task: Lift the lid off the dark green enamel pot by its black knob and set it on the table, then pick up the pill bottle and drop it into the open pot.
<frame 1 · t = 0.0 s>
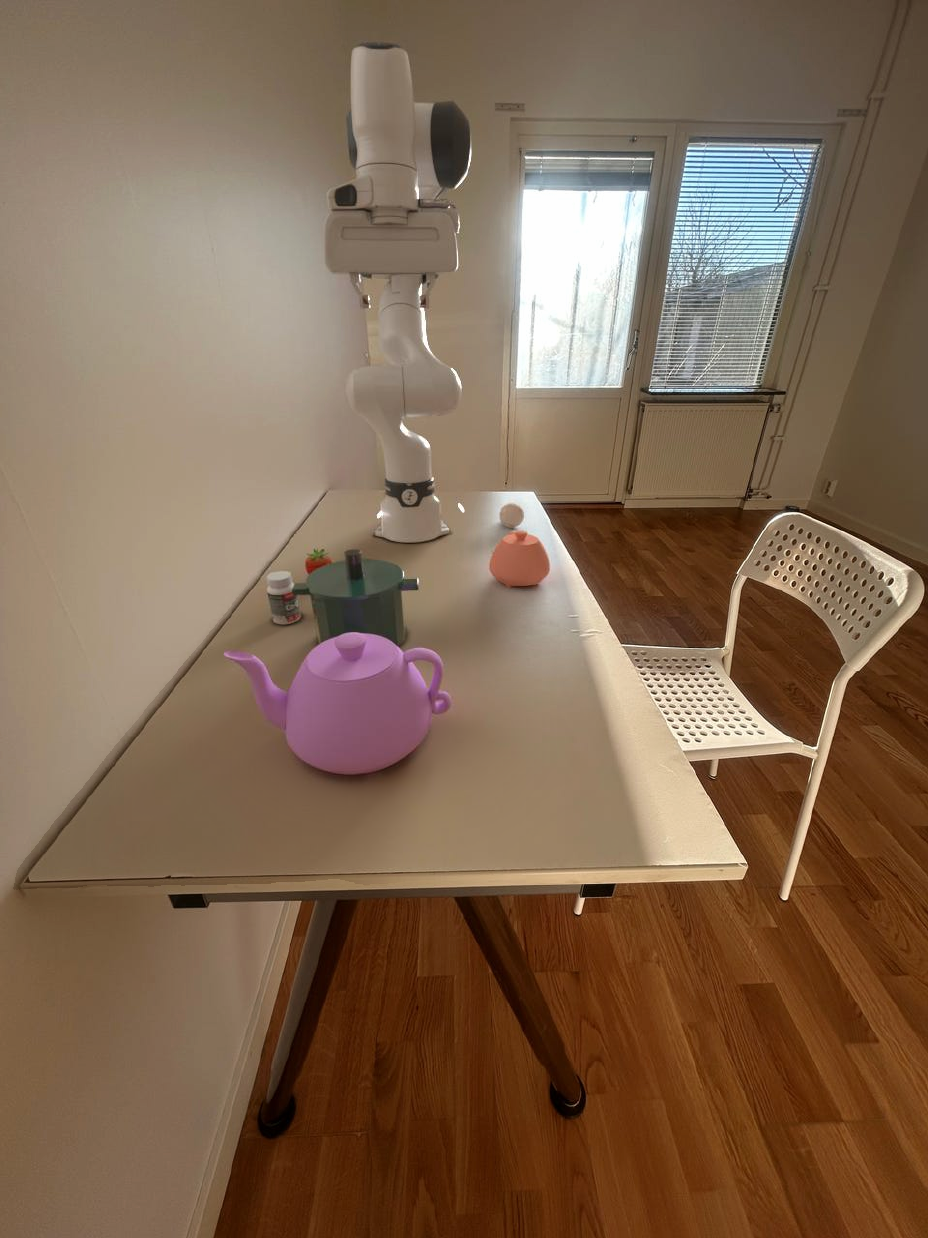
hand: (395, 308, 82), 48 cm above the table, tool pointing down, fingers open, 8 cm apart
teapot: (353, 734, 64), on the table
pot: (362, 637, 85), on the table
pill bottle: (287, 619, 91), on the table
sugar bowl: (517, 578, 107), on the table
lid: (355, 579, 80), point 10 cm above the table, touching pot
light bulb: (509, 525, 138), on the table
fruit: (322, 586, 104), on the table
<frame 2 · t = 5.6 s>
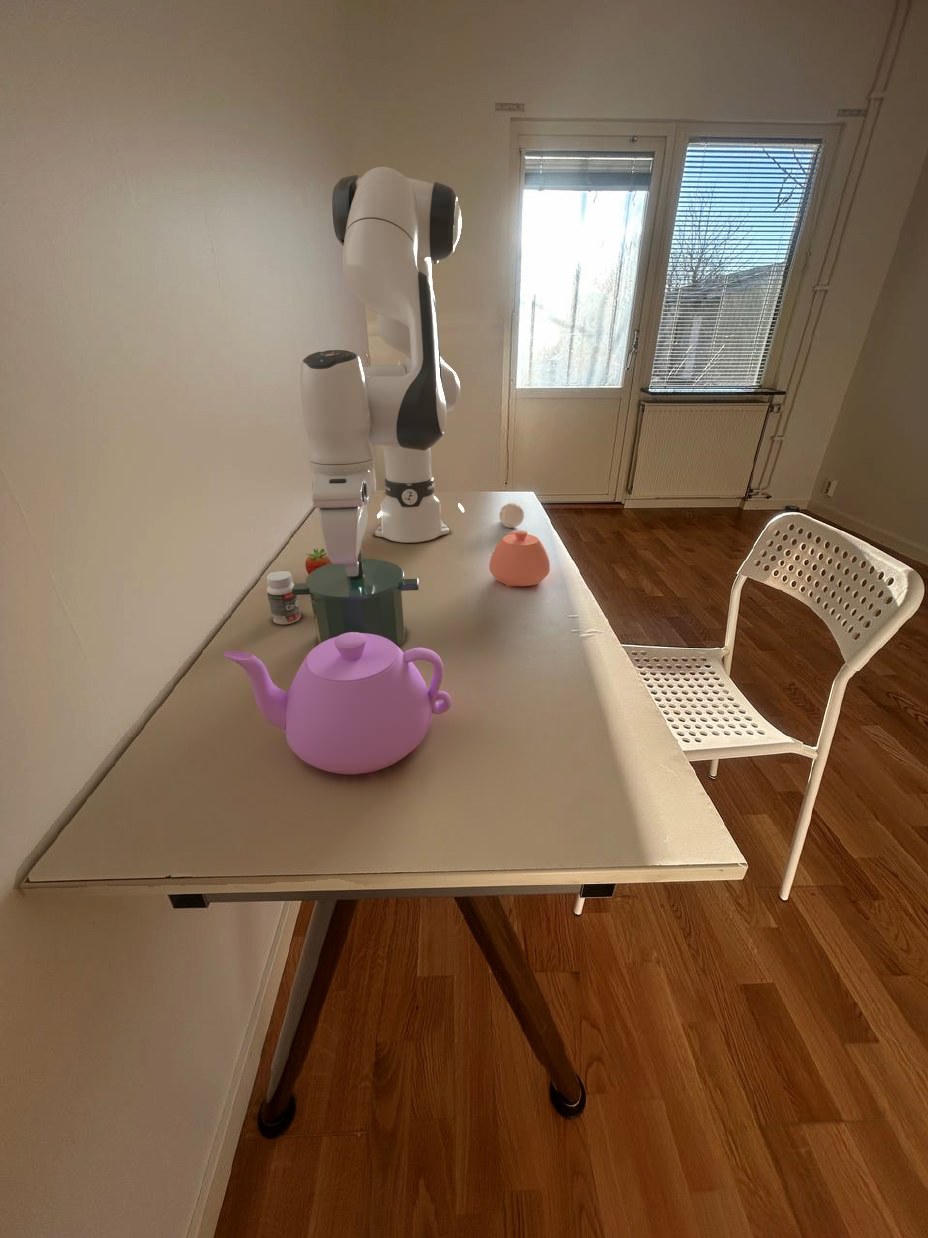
hand: (354, 569, 80), 12 cm above the table, tool pointing down, fingers closed on lid, 2 cm apart
lid: (355, 579, 80), point 11 cm above the table, touching gripper, pot
everything else where it was.
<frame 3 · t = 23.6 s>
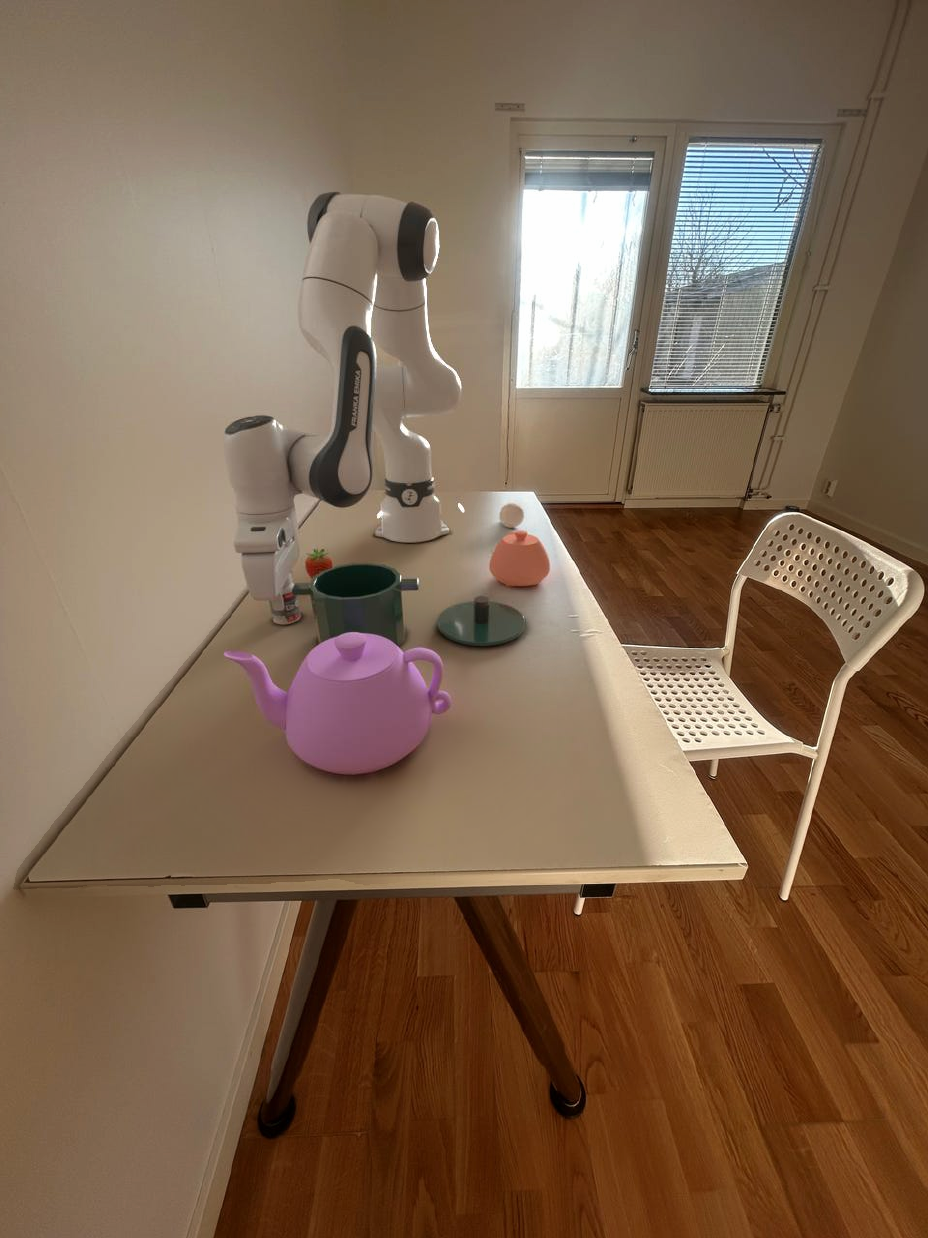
hand: (283, 601, 90), 4 cm above the table, tool pointing down, fingers closed on pill bottle, 5 cm apart
pill bottle: (287, 619, 91), on the table, touching gripper
lid: (481, 623, 88), point 1 cm above the table
everything else where it was.
when the fingers open (9 cm above the table, at t = 31.8 s): pill bottle drops 5 cm, resting on pot.
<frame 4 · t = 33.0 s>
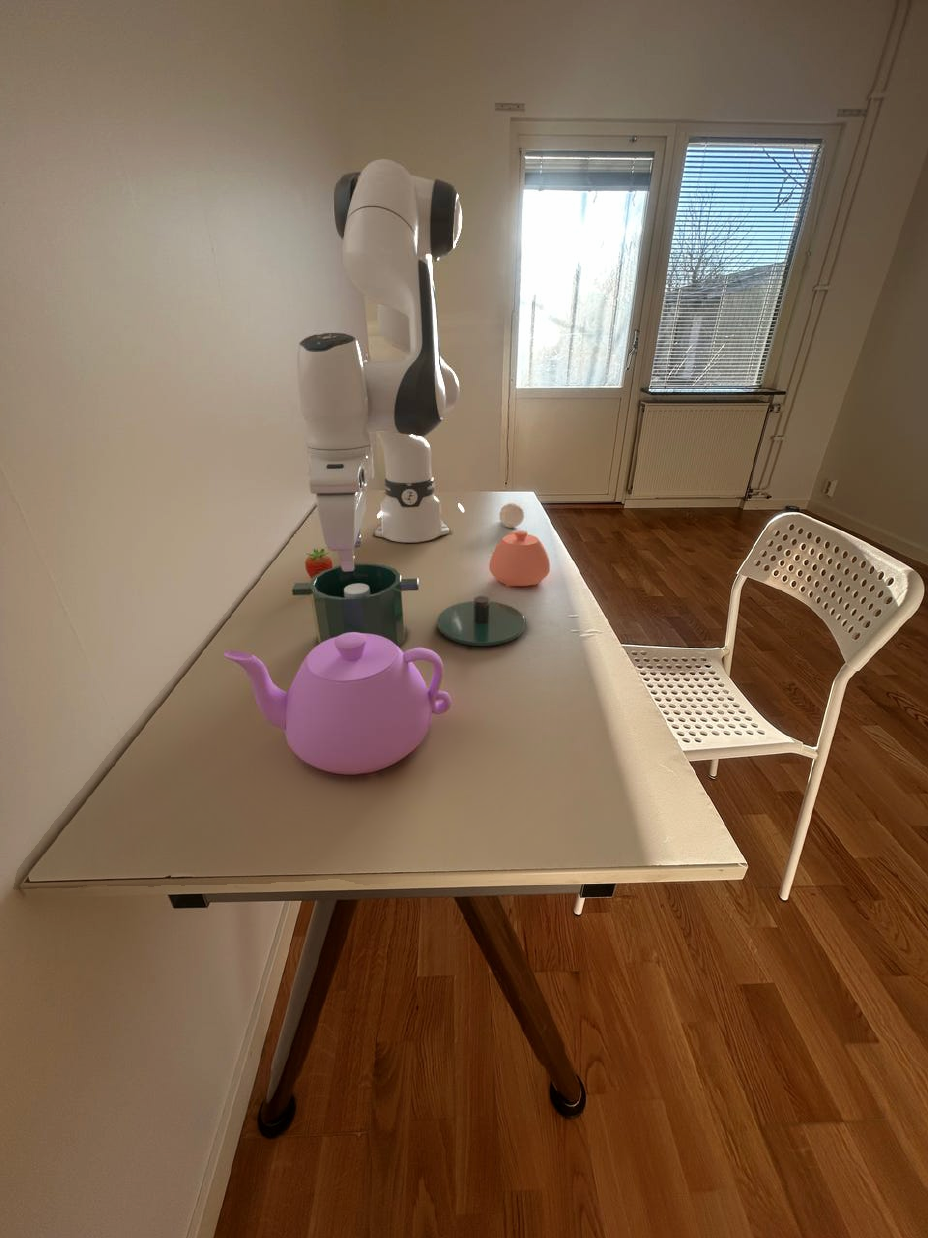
hand: (352, 557, 79), 14 cm above the table, tool pointing down, fingers open, 8 cm apart
pill bottle: (362, 635, 85), resting on pot
everything else where it was.
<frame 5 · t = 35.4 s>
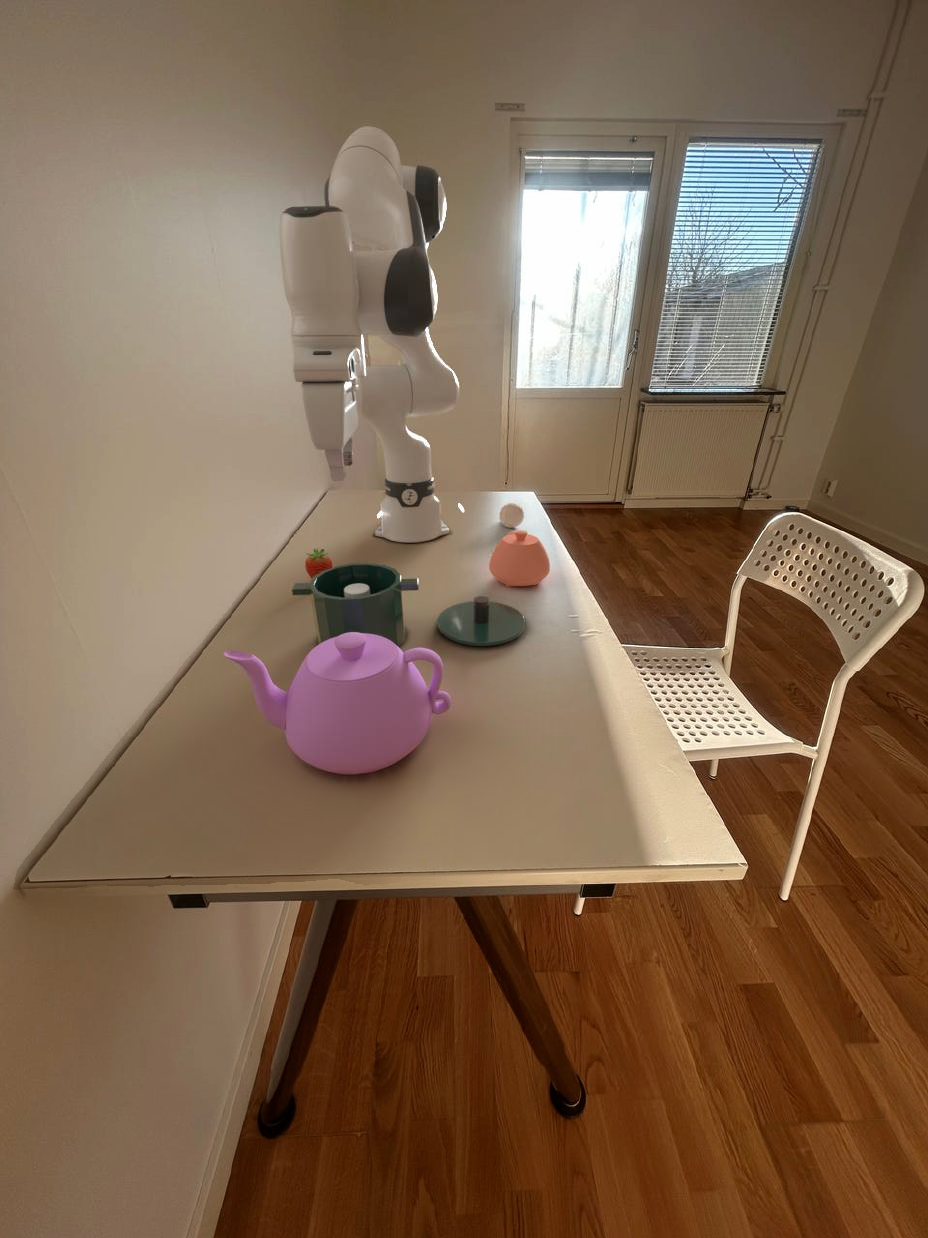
hand: (343, 471, 72), 27 cm above the table, tool pointing down, fingers open, 8 cm apart
nothing on the table moved.
at the end: lid inside the target area (0.1 cm from its centre), point 0.6 cm above the table; pill bottle inside the target area in the pot (0.3 cm from its centre), point 0.3 cm above the pot's base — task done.
